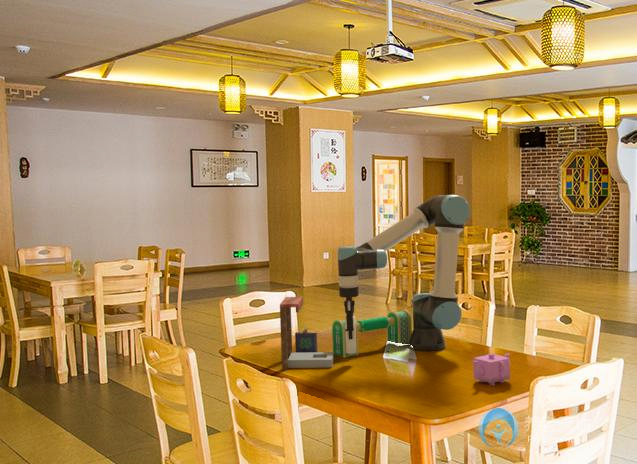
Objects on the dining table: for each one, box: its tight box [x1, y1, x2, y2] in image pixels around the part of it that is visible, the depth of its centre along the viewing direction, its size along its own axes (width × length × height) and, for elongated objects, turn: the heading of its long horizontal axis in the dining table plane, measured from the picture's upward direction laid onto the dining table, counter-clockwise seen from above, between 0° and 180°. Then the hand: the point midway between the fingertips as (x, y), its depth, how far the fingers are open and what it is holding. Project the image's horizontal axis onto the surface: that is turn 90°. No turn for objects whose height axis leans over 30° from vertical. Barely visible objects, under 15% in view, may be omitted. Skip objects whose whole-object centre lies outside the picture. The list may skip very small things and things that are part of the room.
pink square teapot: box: [472, 353, 511, 386], centre depth 233 cm, size 18×13×10 cm
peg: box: [344, 315, 357, 354], centre depth 262 cm, size 4×4×14 cm
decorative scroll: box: [331, 309, 413, 358], centre depth 286 cm, size 36×8×15 cm, turn 122°
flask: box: [294, 327, 319, 353], centre depth 282 cm, size 9×3×11 cm, turn 88°
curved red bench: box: [279, 296, 304, 371], centre depth 265 cm, size 7×18×25 cm, turn 176°
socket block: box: [288, 351, 335, 369], centre depth 265 cm, size 17×12×3 cm
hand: (351, 345), depth 263 cm, fingers closed on peg, 4 cm apart
